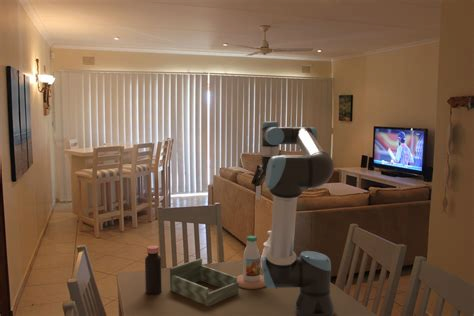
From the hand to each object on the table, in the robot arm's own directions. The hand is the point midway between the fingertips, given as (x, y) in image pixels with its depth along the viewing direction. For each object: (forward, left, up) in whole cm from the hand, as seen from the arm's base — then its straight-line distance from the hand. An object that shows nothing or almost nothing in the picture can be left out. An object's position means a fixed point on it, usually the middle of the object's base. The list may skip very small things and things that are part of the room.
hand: (269, 201), depth 209 cm
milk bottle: (+3, +9, -35) cm, 37 cm away
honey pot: (+9, -15, -37) cm, 41 cm away
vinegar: (+27, +46, -37) cm, 65 cm away
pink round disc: (+3, +9, -37) cm, 38 cm away
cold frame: (+11, +31, -37) cm, 49 cm away
